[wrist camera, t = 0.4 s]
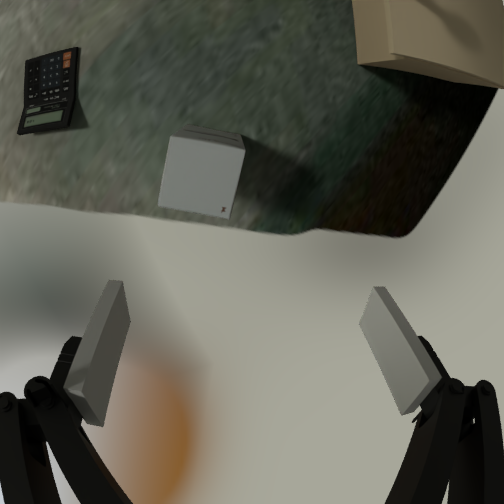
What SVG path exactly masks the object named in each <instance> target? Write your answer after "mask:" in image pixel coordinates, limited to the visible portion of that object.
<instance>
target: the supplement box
mask: <svg viewBox="0 0 504 504" xmlns="http://www.w3.org/2000/svg"><path fill="white" fill-rule="evenodd" d="M245 152H246V150H245V147H244V143H243V141H242V137H241V135H240V134H236V133H230V132H224V131H219V130H214V129H209V128H204V127H199V126H195V125H190V124H187V125H185V126H184V127H183V128H181V129H180V130H178V131H177V132H176V133H174V134H173V135H171V136H170V141H169V146H168V151H167V156H166V161H165V166H164V171H163V177H162V182H161V188H160V194H159V200H158V206H159V207H163V208H169V209H175V210H180V211H186V212H191V213H196V214H203V215H208V216H213V217H219V218H224V219H230V217H231V213H232V209H233V204H234V200H235V196H236V192H237V187H238V183H239V178H240V174H241V169H242V165H243V160H244V156H245Z"/></svg>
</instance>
